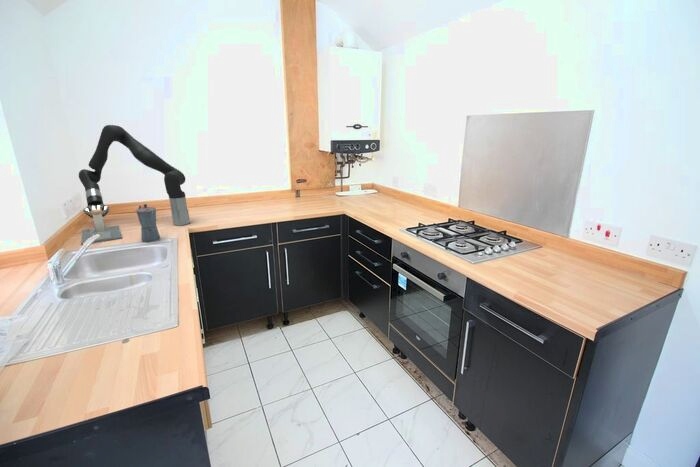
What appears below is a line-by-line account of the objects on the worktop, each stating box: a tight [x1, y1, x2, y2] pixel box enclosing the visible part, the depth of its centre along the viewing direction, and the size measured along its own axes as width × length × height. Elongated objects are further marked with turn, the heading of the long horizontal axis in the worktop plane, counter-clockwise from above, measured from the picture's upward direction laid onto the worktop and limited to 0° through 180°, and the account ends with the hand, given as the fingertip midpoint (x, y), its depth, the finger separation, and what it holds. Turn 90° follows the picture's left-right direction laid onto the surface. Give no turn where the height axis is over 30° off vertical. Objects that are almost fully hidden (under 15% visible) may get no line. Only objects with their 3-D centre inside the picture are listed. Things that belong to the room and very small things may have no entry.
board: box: [80, 224, 123, 246], centre depth 193 cm, size 28×18×1 cm, turn 36°
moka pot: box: [135, 203, 161, 243], centre depth 183 cm, size 10×15×20 cm, turn 58°
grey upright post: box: [90, 209, 106, 232], centre depth 192 cm, size 5×5×13 cm
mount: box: [89, 225, 112, 241], centre depth 186 cm, size 12×9×4 cm
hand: (99, 222), depth 195 cm, fingers closed
